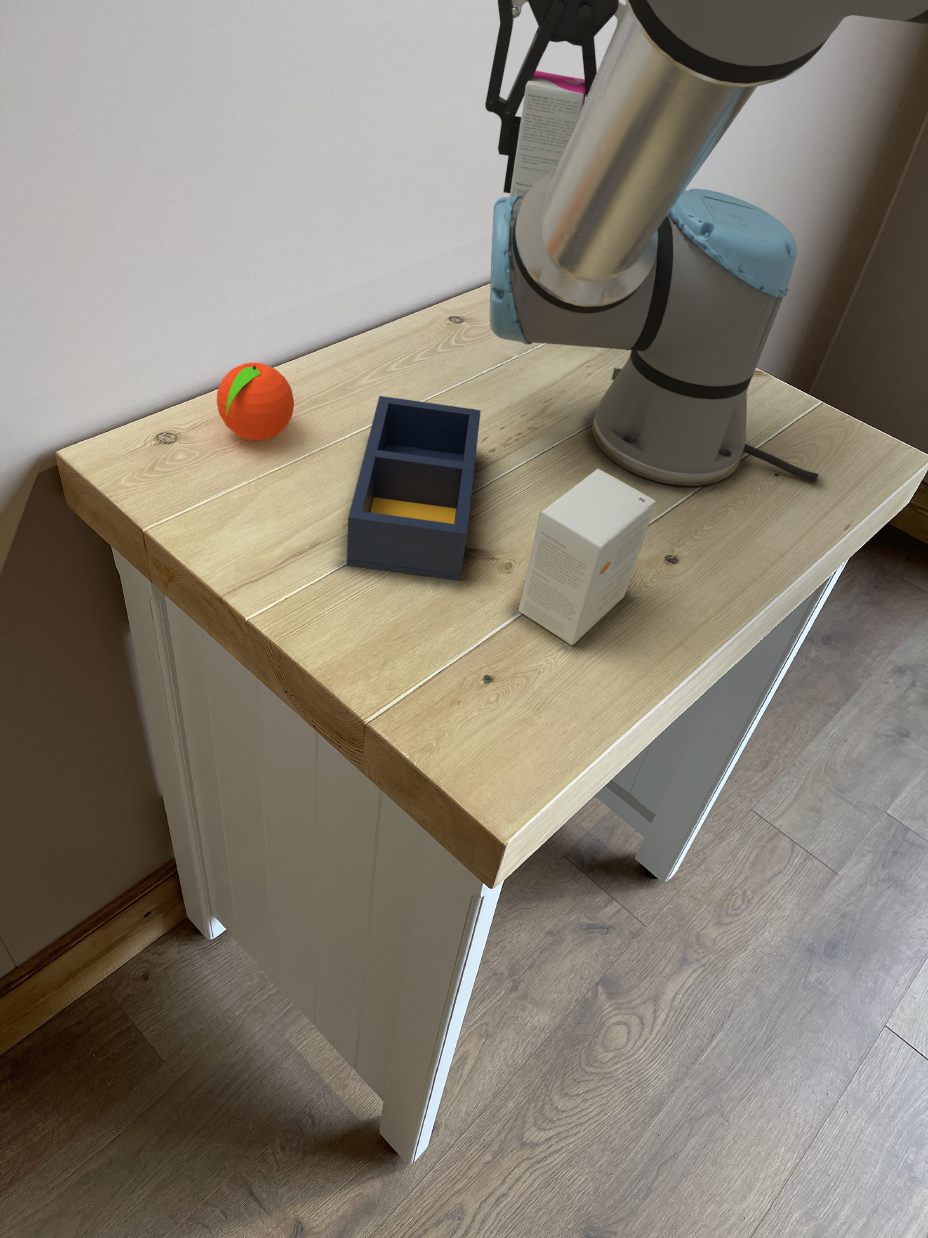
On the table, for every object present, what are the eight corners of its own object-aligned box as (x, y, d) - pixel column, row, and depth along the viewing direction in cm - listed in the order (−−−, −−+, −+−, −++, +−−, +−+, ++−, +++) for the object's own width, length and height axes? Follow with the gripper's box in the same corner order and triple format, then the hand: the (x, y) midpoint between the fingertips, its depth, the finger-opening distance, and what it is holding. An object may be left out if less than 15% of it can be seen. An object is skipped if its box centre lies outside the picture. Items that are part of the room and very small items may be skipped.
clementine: (262, 470, 83) (259, 401, 78) (197, 445, 84) (190, 376, 79) (308, 427, 88) (308, 361, 83) (246, 404, 90) (242, 338, 85)
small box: (571, 565, 79) (598, 465, 71) (625, 598, 77) (659, 499, 69) (515, 611, 74) (538, 509, 66) (571, 648, 72) (602, 547, 64)
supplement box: (563, 217, 94) (583, 93, 86) (506, 207, 95) (521, 83, 87) (569, 197, 98) (589, 77, 90) (515, 188, 99) (530, 67, 91)
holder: (376, 441, 88) (379, 395, 84) (473, 455, 88) (480, 409, 85) (346, 565, 75) (348, 517, 72) (459, 580, 76) (467, 533, 72)
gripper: (689, -72, 83) (627, 193, 99) (479, -105, 82) (452, 166, 98) (698, -58, 77) (631, 220, 93) (474, -94, 77) (445, 192, 93)
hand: (539, 192), depth 96 cm, fingers closed on supplement box, 6 cm apart
